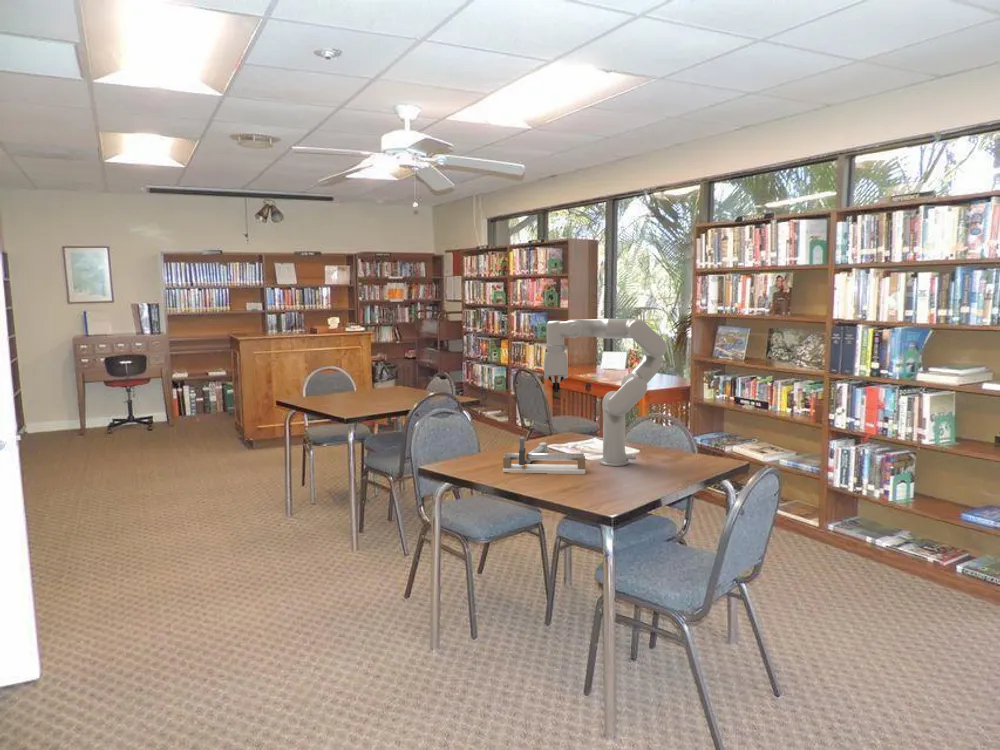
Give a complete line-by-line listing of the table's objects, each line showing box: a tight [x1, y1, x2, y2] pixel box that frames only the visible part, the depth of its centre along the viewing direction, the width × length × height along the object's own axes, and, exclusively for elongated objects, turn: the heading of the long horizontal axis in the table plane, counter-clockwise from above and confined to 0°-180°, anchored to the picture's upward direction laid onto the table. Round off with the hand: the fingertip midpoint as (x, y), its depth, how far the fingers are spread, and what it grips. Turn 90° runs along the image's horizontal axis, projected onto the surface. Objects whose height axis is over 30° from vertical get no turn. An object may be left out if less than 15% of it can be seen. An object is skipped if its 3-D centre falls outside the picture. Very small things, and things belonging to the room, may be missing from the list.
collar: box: [518, 436, 526, 465], centre depth 295 cm, size 2×6×11 cm, turn 175°
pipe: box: [504, 452, 585, 462], centre depth 294 cm, size 33×3×3 cm, turn 85°
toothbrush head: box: [525, 441, 550, 464], centre depth 315 cm, size 5×7×25 cm
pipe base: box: [502, 454, 586, 475], centre depth 295 cm, size 34×10×6 cm, turn 85°
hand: (556, 391), depth 303 cm, fingers closed
